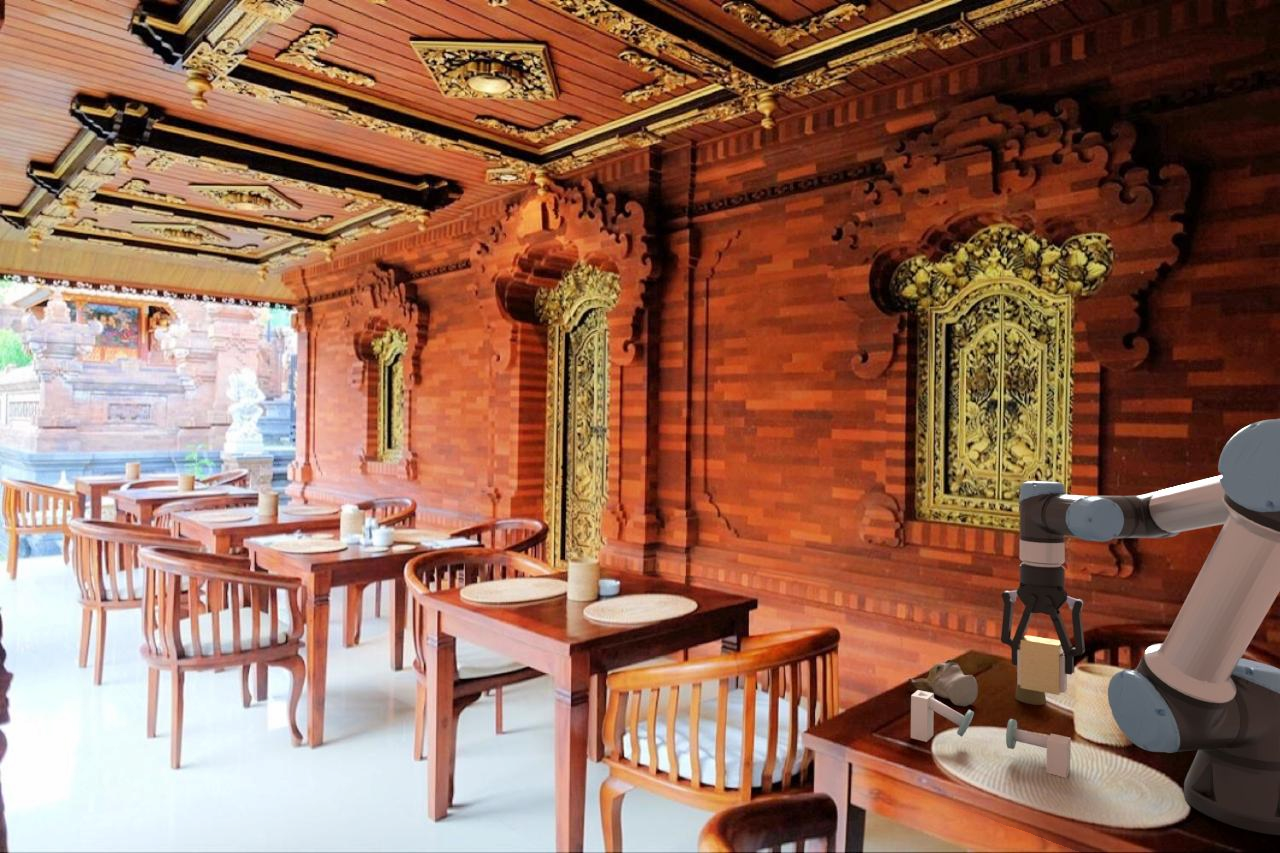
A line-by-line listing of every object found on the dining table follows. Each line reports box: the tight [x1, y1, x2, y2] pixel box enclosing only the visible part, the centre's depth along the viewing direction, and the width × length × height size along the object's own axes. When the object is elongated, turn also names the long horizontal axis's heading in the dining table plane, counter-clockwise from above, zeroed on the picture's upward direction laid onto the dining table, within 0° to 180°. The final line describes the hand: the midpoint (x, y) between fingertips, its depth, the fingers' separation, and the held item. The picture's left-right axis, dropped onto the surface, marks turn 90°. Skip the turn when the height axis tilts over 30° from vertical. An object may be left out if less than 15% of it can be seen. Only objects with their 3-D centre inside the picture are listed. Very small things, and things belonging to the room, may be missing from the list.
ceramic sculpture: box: [908, 659, 979, 707], centre depth 166 cm, size 11×9×15 cm
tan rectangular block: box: [1020, 634, 1064, 696], centre depth 143 cm, size 4×6×9 cm
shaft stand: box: [910, 689, 1072, 779], centre depth 138 cm, size 26×5×8 cm, turn 52°
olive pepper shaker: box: [1014, 684, 1047, 706], centre depth 166 cm, size 6×6×11 cm
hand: (1041, 686), depth 143 cm, fingers closed on tan rectangular block, 6 cm apart
